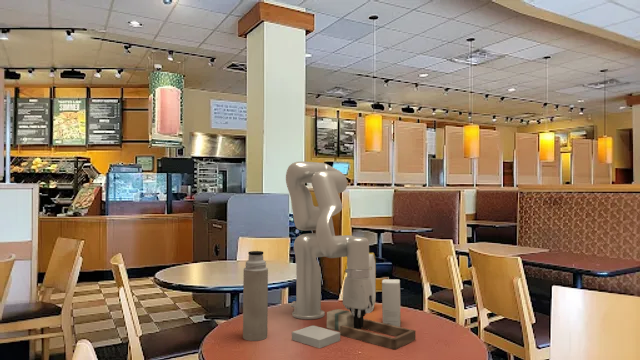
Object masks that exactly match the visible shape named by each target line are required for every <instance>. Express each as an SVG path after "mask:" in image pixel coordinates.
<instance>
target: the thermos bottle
mask: <svg viewBox="0 0 640 360" xmlns="http://www.w3.org/2000/svg"><path fill="white" fill-rule="evenodd" d="M247 252H248V259H247V260H246V261H245V267H244V268H243V283H242V284H243V292H242V293H243V295H242V296H243V299H242V300H243V301H242V302H243V303H242V307H243V308H242V338H243V339H244V340H245V341H250V342H252V341H253V342H254V341H255V342H256V341H257V342H258V341H262V340H265V339H266V338H268V331H269V330H268V316H269V315H268V310H269V309H268V304H269V303H268V302H269V299H268V294H269V293H268V292H269V285H268V284H269V276H268V275H269V268H268V267H266V266H267V263H266V261H265V260H264V251H261V250H252V251H247Z"/></svg>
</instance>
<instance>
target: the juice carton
mask: <svg viewBox="0 0 640 360" xmlns="http://www.w3.org/2000/svg"><path fill="white" fill-rule="evenodd" d="M376 260H377V259H376V256H375V253H374V252H369V278H370V279H371V283H372V290H373V306H372V312H373V310H374V309H375V305H376V298H377V296H376V292H377V291H376V290H377V288H376V286H377V285H376V284H377V283H376V280H377V278H376V276H377V274H376V273H377V272H376V271H377V268H376V267H377V266H376V265H377V262H376ZM366 309H367V308H366Z"/></svg>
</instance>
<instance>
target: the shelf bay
mask: <svg viewBox="0 0 640 360" xmlns="http://www.w3.org/2000/svg"><path fill="white" fill-rule="evenodd" d="M368 329H369V331H367V330H368ZM371 331H372V332H371ZM339 332H340V336H342V337H347V338H351V339H353V340H357V341H360V340H362V341H361V342H364V341H365V343H368V344H372V345H377V346H380V347H383V348H385V349H386V348H387V349H390V350H391V349H392V350H397V349H399V348H401V347H403V346H406V345H407V344H410V343H412V342H415V341H416V330H414V329H410V328H407V327H402V326H400V327H398V326H393V325H389V324H385V323H383V322H380V321H375V320H371V319H367V318H363V328H362V329H356V328H352V327H348V326H344V325H342V326H340V331H339ZM375 332H377V333H375ZM379 333H380V334H379ZM383 334H385V335H383ZM388 335H389V336H388ZM391 336H392V337H391Z"/></svg>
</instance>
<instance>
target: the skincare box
mask: <svg viewBox="0 0 640 360" xmlns="http://www.w3.org/2000/svg"><path fill="white" fill-rule="evenodd" d="M381 292H382V293H381V300H382V301H381V306H382V307H381V309H382V323H385V324H389V325H393V326H398V327H401V280H400V279H395V278H394V279H391V278H390V279H389V278H388V279H386V278H385V279H382V280H381Z"/></svg>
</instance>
